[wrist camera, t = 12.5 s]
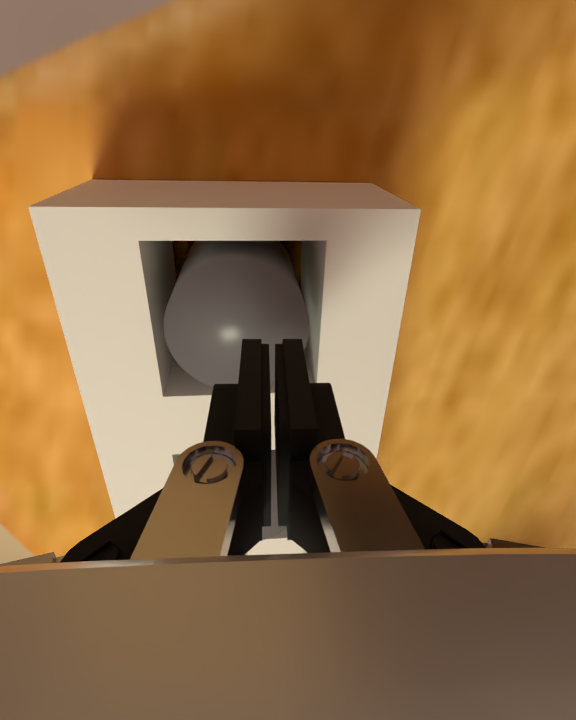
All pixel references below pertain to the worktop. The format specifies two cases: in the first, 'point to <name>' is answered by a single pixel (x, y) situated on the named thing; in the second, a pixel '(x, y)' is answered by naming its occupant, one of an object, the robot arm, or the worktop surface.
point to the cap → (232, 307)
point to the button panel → (156, 283)
